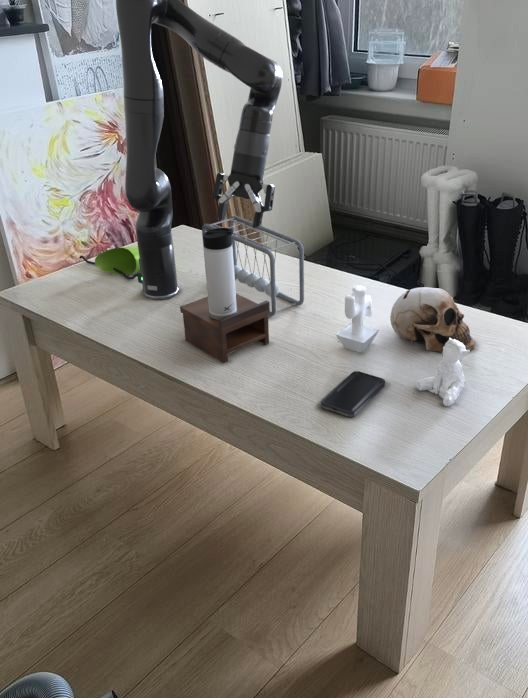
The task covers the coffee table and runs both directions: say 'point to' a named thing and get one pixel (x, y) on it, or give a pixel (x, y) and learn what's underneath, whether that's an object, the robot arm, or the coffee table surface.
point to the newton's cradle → (253, 279)
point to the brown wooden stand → (226, 327)
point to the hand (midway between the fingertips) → (238, 223)
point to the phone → (353, 393)
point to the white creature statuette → (447, 373)
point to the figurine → (357, 321)
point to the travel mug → (220, 272)
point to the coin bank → (429, 319)
